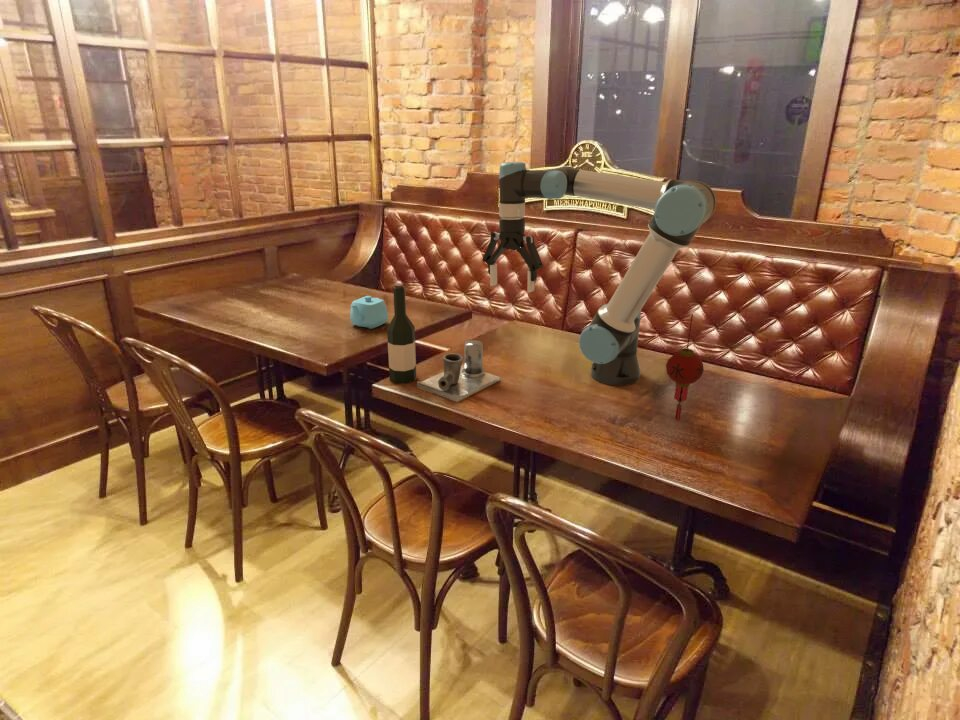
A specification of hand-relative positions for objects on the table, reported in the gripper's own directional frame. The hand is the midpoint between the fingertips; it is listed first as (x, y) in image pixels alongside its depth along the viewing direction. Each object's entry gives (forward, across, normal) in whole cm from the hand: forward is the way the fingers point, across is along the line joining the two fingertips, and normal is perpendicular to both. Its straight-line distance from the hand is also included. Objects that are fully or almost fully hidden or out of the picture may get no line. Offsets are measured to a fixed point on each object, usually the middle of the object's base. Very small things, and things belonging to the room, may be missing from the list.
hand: (511, 288), depth 188 cm
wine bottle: (+27, +24, +25) cm, 44 cm away
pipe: (+26, +7, +23) cm, 35 cm away
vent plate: (+27, +7, +18) cm, 33 cm away
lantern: (+29, -55, +1) cm, 62 cm away
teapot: (+26, +69, -4) cm, 74 cm away
